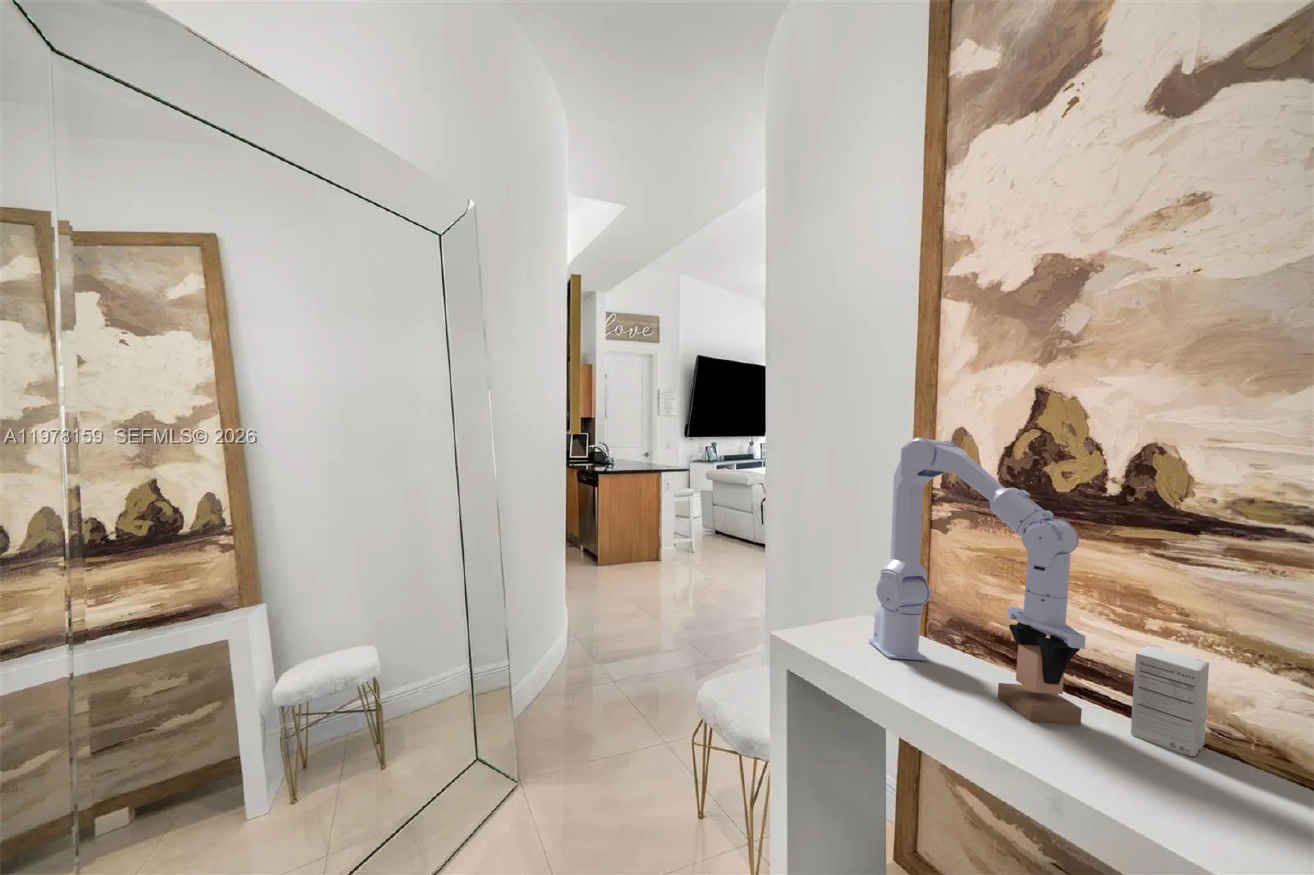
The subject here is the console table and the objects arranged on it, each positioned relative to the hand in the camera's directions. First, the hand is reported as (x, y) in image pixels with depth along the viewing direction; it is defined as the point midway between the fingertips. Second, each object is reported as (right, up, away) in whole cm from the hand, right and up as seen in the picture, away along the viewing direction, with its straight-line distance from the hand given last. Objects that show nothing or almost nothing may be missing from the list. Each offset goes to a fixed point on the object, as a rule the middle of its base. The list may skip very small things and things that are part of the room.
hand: (1039, 676), depth 90 cm
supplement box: (+15, -7, -7) cm, 18 cm away
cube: (0, -2, 0) cm, 2 cm away
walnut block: (0, -6, 0) cm, 6 cm away
